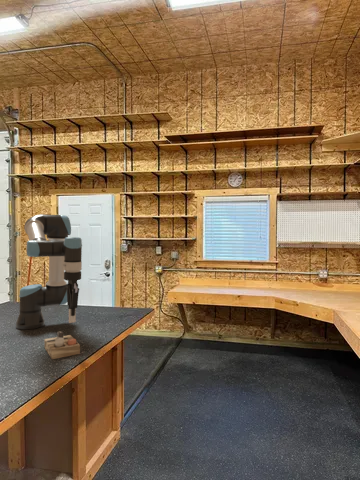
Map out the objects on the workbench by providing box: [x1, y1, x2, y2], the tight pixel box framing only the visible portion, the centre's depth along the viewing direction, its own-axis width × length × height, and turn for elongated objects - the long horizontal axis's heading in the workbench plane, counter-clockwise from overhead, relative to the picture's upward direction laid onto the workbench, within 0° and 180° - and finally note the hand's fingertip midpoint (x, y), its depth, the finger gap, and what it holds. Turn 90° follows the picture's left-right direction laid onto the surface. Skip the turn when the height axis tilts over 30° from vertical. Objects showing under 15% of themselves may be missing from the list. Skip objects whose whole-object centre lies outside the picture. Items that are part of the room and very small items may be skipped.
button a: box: [68, 338, 77, 346], centre depth 146 cm, size 4×4×3 cm
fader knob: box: [56, 330, 64, 338], centre depth 150 cm, size 3×2×3 cm
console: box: [43, 334, 81, 360], centre depth 147 cm, size 16×12×4 cm
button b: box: [55, 338, 64, 347], centre depth 143 cm, size 4×4×3 cm
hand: (72, 322), depth 146 cm, fingers closed
